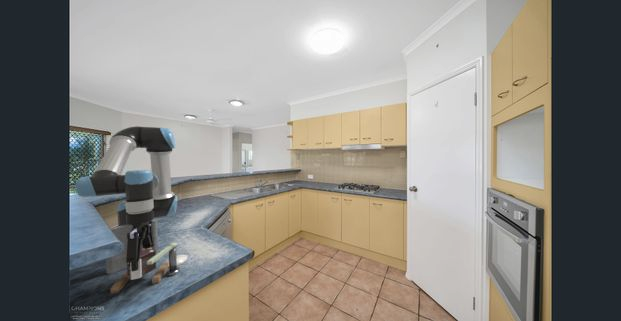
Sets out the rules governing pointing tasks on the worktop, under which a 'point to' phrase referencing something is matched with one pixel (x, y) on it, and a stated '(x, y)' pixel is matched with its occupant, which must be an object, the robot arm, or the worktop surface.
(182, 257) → the trivet
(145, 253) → the box
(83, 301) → the worktop surface
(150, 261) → the bar
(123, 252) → the hip flask
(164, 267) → the cradle
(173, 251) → the latch post
